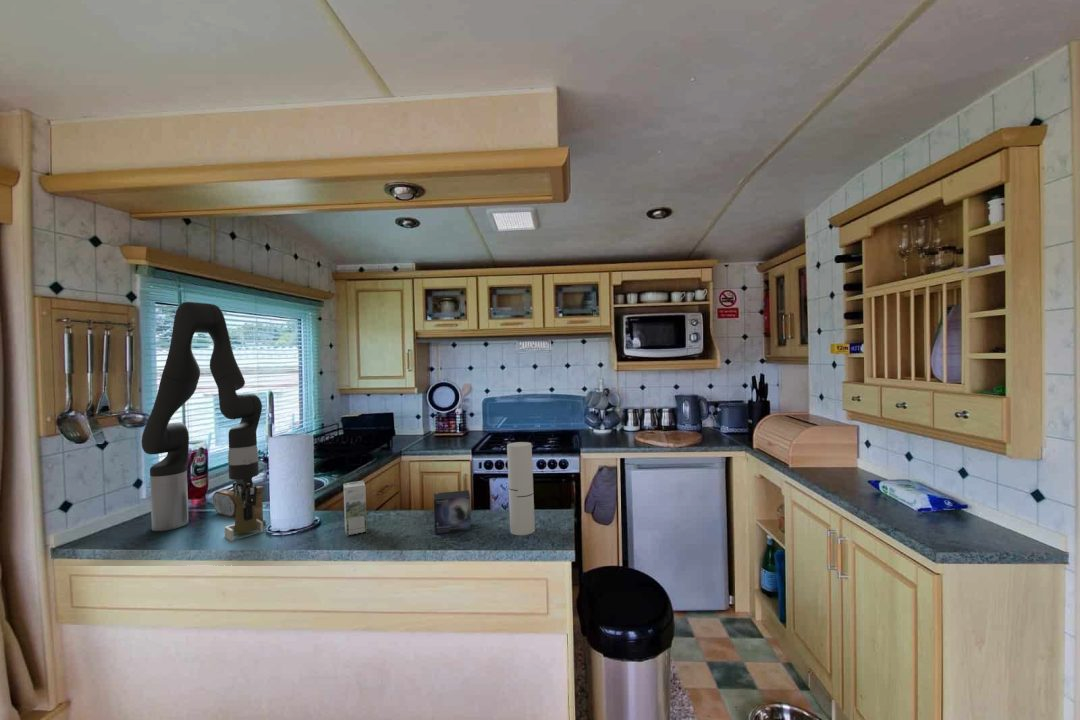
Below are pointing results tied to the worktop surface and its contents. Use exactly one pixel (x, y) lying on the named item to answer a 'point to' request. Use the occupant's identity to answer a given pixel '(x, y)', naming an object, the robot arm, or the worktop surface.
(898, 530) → the worktop surface
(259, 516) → the bobbin
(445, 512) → the small box
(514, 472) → the cylindrical container
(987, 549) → the worktop surface
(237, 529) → the cork
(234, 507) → the bread slice
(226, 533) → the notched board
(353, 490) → the syrup box
